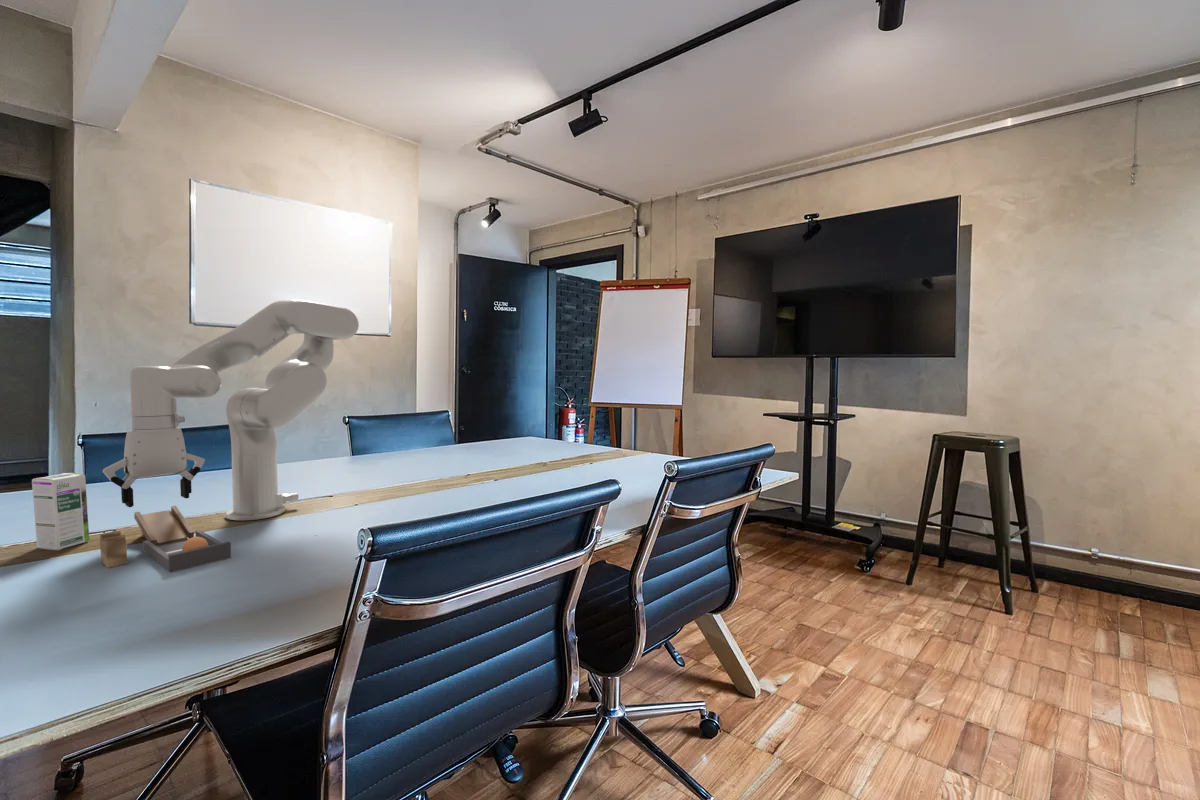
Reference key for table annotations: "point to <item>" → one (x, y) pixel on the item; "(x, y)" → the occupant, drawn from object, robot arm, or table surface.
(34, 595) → the table surface
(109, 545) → the wooden upright block
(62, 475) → the syrup box
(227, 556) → the lane
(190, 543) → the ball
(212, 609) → the table surface
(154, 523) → the ramp
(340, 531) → the table surface
